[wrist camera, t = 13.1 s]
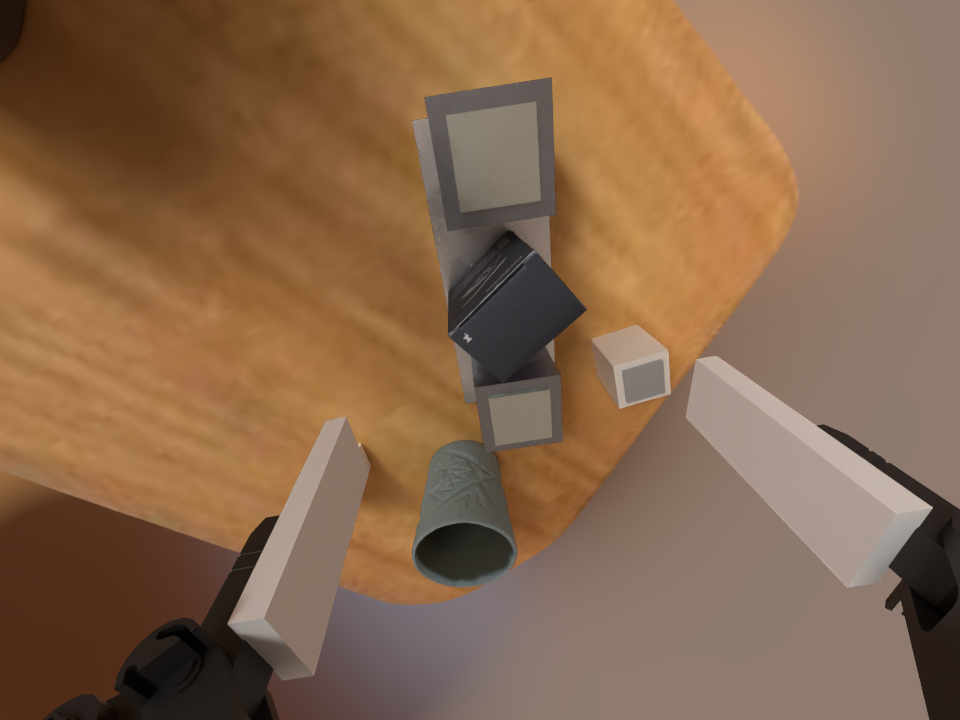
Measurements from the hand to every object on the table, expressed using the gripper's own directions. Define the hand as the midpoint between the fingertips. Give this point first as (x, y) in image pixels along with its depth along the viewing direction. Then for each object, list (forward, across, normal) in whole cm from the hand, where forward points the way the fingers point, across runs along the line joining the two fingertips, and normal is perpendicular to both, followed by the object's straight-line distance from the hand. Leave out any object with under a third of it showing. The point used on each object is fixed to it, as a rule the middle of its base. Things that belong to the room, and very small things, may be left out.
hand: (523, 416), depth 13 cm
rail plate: (+22, +2, -1) cm, 22 cm away
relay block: (+22, +13, -11) cm, 28 cm away
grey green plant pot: (+22, -6, -24) cm, 33 cm away
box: (+21, +2, -1) cm, 21 cm away
